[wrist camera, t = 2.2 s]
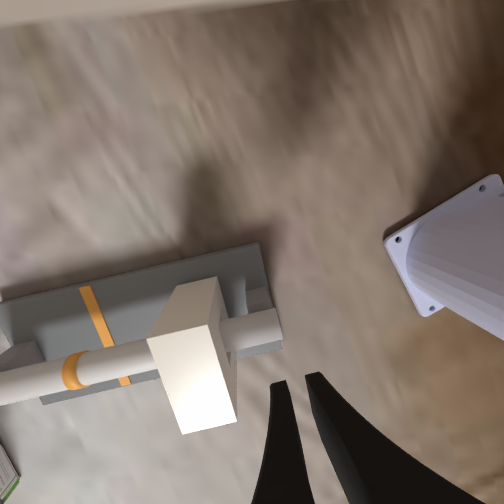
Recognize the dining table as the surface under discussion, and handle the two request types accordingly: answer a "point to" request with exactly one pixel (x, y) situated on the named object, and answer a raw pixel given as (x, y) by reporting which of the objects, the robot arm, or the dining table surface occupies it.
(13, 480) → the syrup box
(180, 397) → the collar
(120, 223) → the dining table surface
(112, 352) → the pipe stand
